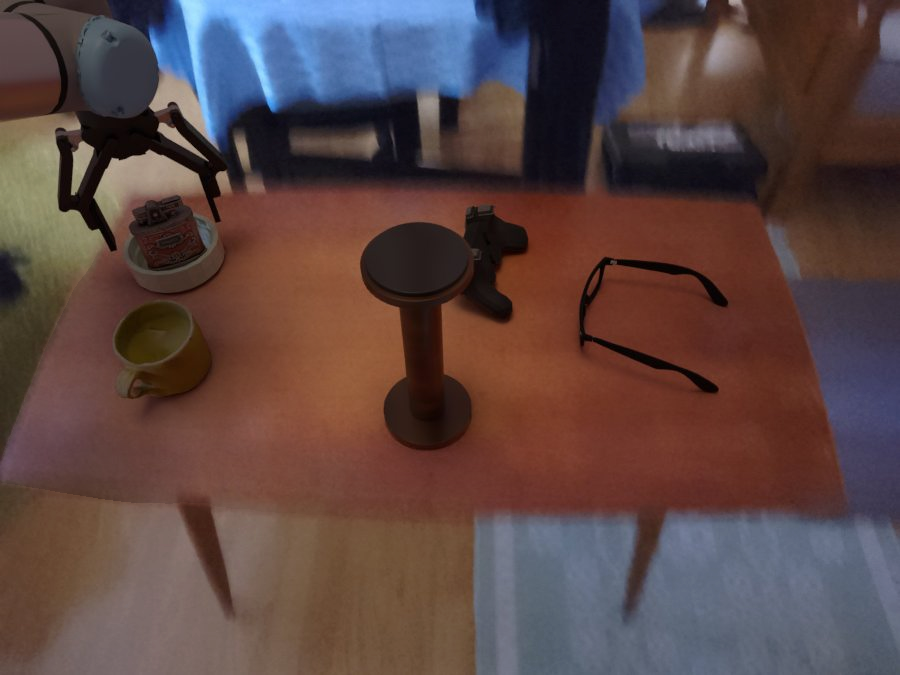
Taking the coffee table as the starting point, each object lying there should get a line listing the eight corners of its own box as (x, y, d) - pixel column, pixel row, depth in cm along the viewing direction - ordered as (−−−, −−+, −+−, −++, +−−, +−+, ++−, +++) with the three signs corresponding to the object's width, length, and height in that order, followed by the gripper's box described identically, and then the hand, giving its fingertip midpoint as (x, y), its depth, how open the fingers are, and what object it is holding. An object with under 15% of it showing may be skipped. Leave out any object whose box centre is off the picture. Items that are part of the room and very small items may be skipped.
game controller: (490, 248, 99) (458, 195, 93) (533, 237, 96) (503, 182, 90) (467, 331, 89) (430, 278, 83) (514, 322, 86) (478, 266, 80)
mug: (164, 311, 86) (145, 276, 77) (232, 352, 86) (221, 323, 77) (97, 389, 81) (68, 362, 72) (169, 434, 81) (149, 412, 72)
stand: (402, 463, 74) (382, 311, 55) (372, 394, 80) (344, 236, 61) (486, 431, 76) (493, 275, 58) (450, 366, 82) (446, 206, 64)
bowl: (140, 307, 89) (128, 285, 86) (128, 248, 97) (117, 226, 94) (234, 279, 93) (226, 257, 89) (216, 224, 100) (208, 202, 97)
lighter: (152, 278, 92) (123, 220, 84) (146, 262, 94) (118, 205, 86) (210, 257, 94) (188, 200, 87) (204, 243, 96) (181, 186, 89)
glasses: (591, 275, 93) (595, 247, 89) (727, 300, 89) (737, 272, 85) (564, 366, 83) (567, 339, 79) (716, 400, 79) (727, 373, 75)
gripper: (207, 40, 79) (251, 189, 95) (-25, 89, 73) (64, 239, 89) (220, 70, 75) (264, 221, 91) (-26, 125, 68) (68, 276, 85)
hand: (165, 230), depth 90 cm, fingers open, 13 cm apart
